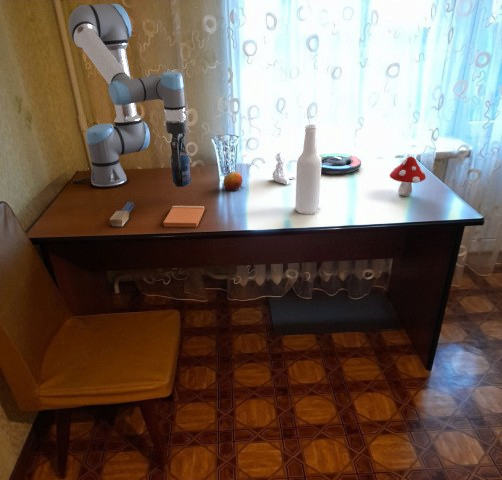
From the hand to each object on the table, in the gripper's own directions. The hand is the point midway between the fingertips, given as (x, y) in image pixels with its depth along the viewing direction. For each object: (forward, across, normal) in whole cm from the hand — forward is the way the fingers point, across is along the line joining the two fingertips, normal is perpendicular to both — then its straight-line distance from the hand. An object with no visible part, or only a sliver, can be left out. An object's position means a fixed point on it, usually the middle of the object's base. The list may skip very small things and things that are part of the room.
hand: (182, 182), depth 188 cm
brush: (+7, -18, +19) cm, 27 cm away
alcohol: (+7, -8, -49) cm, 50 cm away
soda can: (+1, 0, 0) cm, 1 cm away
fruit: (+7, +14, -18) cm, 24 cm away
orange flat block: (+7, -18, -4) cm, 20 cm away
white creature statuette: (+7, +25, -38) cm, 46 cm away
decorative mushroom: (+6, +10, -88) cm, 89 cm away
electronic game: (+7, +44, -62) cm, 76 cm away
